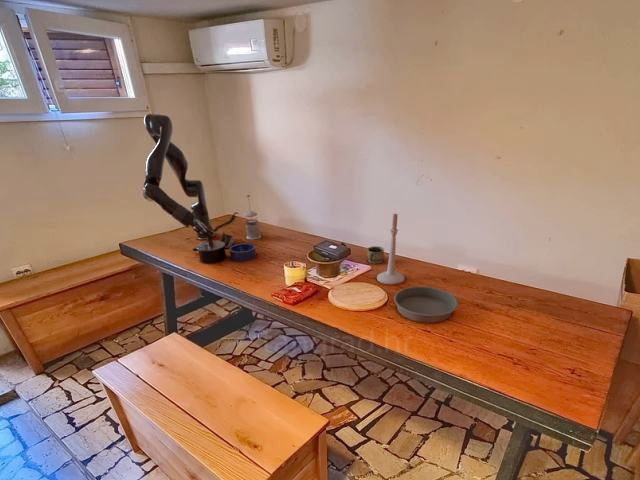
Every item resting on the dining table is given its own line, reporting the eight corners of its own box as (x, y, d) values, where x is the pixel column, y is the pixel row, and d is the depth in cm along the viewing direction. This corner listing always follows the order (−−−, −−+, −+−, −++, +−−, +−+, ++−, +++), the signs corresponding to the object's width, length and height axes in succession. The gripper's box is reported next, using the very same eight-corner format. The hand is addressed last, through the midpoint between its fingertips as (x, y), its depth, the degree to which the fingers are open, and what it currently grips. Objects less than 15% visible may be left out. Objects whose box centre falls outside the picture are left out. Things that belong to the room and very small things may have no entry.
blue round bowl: (232, 252, 205) (231, 244, 203) (257, 251, 206) (256, 243, 203) (229, 261, 194) (227, 252, 191) (255, 260, 195) (253, 251, 192)
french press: (256, 233, 234) (250, 191, 220) (266, 237, 227) (261, 194, 212) (242, 237, 228) (236, 194, 214) (253, 241, 221) (246, 197, 207)
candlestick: (388, 286, 165) (393, 219, 148) (371, 277, 174) (374, 212, 157) (410, 280, 170) (417, 213, 153) (392, 271, 179) (397, 207, 162)
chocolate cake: (229, 249, 211) (235, 231, 213) (217, 246, 210) (222, 227, 212) (231, 256, 220) (236, 238, 222) (219, 253, 219) (224, 234, 221)
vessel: (373, 255, 197) (374, 244, 193) (388, 258, 193) (389, 247, 189) (362, 262, 189) (362, 251, 185) (377, 266, 185) (377, 254, 181)
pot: (198, 255, 204) (195, 242, 200) (233, 253, 205) (230, 241, 201) (192, 264, 192) (189, 251, 188) (229, 262, 193) (227, 249, 189)
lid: (200, 243, 200) (196, 225, 195) (227, 242, 201) (223, 224, 196) (194, 252, 188) (189, 234, 183) (222, 251, 189) (219, 232, 184)
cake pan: (416, 331, 134) (417, 320, 131) (382, 302, 152) (382, 293, 150) (469, 316, 141) (471, 306, 139) (431, 291, 160) (432, 281, 158)
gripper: (186, 213, 176) (216, 235, 185) (188, 206, 188) (216, 227, 197) (177, 225, 178) (208, 246, 187) (180, 217, 190) (208, 237, 199)
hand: (212, 236), depth 192 cm, fingers open, 5 cm apart
